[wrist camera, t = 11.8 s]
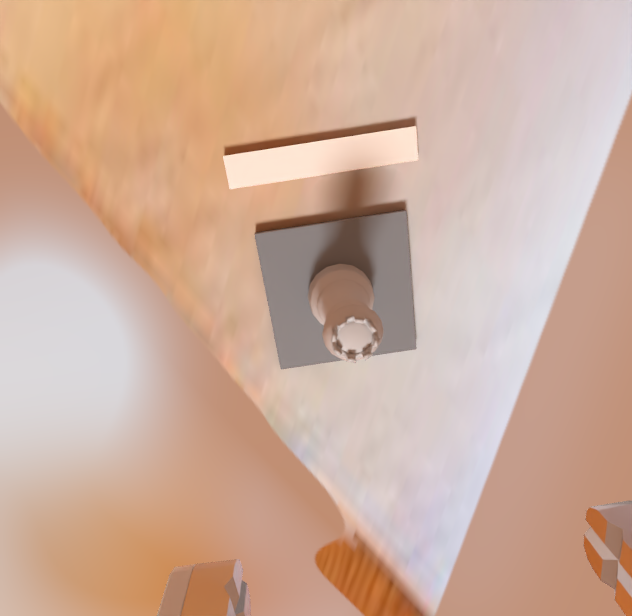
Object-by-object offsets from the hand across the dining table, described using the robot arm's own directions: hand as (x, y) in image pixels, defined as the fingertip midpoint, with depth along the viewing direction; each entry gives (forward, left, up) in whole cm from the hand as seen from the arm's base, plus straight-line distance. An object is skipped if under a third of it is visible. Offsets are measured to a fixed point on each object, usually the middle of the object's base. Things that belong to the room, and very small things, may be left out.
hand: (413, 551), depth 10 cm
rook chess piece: (0, 0, -21) cm, 21 cm away
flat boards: (-2, 0, -21) cm, 21 cm away
